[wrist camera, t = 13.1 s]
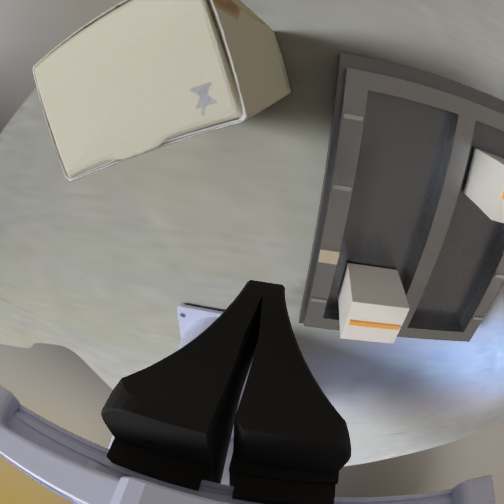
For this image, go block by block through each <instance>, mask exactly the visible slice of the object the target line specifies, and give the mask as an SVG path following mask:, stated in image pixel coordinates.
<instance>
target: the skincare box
mask: <svg viewBox="0 0 504 504" xmlns="http://www.w3.org/2000/svg"><path fill="white" fill-rule="evenodd" d="M33 75H34V79H35V82H36V86H37V90H38V94H39V99H40V102H41V106H42V109H43V113H44V117H45V120H46V123H47V126H48V129H49V133H50V136H51V139H52V142H53V145H54V148H55V151H56V154H57V156H58V159H59V162H60V165H61V168H62V170H63V173H64V176H65V178H67V179H68V180H70V181H74V180H76V179H79V178H81V177H83V176H86V175H88V174H91V173H93V172H96V171H98V170H101V169H103V168H106V167H109V166H111V165H114V164H116V163H119V162H122V161H124V160H127V159H130V158H132V157H135V156H138V155H141V154H143V153H146V152H149V151H151V150H154V149H157V148H160V147H163V146H166V145H169V144H172V143H175V142H178V141H181V140H184V139H187V138H190V137H193V136H197V135H200V134H203V133H207V132H210V131H214V130H217V129H220V128H223V127H227V126H231V125H235V124H239V123H242V122H245V121H247V120H248V119H250V118H251V117H253V116H255V115H256V114H258V113H259V112H261V111H263V110H264V109H266V108H267V107H269V106H271V105H272V104H274V103H275V102H277V101H279V100H280V99H282V98H283V97H285V96H287V95H289V94H290V93H291V90H290V85H289V81H288V77H287V73H286V69H285V65H284V61H283V58H282V54H281V51H280V48H279V45H278V42H277V39H276V36H275V34H274V31H273V30H272V29H271V28H270V27H269V26H268V25H267V24H266V23H264V22H263V21H262V20H261V19H260V18H259V17H258V16H257V15H256V14H254V13H253V12H252V11H251V10H250V9H249V8H248V7H246V6H245V5H244V4H243V3H242V2H241V1H240V0H124V1H122V2H120V3H118V4H117V5H115V6H113V7H112V8H110V9H108V10H107V11H105V12H104V13H102V14H101V15H99V16H97V17H96V18H94V19H93V20H91V21H90V22H88V23H87V24H85V25H84V26H82V27H81V28H79V29H78V30H77V31H75V32H74V33H73V34H71V35H70V36H69V37H67V38H66V39H65V40H64V41H62V42H61V43H60V44H58V45H57V46H56V47H55V48H54V49H52V50H51V51H50V52H49V53H48V54H47V55H46V56H44V57H43V58H42V59H41V60H40V61H39V62H38V63H36V64H35V65H34V67H33Z"/></svg>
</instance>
